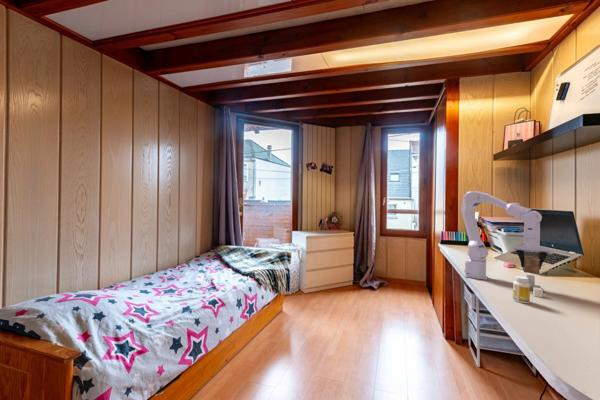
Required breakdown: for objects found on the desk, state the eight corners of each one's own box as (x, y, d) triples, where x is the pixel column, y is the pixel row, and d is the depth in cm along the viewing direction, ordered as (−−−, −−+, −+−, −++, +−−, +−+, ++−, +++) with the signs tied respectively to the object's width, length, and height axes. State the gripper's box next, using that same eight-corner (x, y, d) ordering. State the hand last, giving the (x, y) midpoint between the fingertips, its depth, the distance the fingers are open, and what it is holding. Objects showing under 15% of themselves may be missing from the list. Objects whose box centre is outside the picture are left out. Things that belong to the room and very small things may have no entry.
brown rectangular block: (524, 272, 126) (524, 257, 126) (522, 269, 131) (522, 255, 131) (539, 274, 124) (539, 259, 123) (536, 271, 128) (537, 256, 128)
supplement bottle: (509, 299, 114) (510, 276, 114) (517, 297, 116) (517, 274, 116) (525, 304, 109) (525, 280, 109) (532, 302, 111) (533, 278, 111)
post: (520, 289, 126) (520, 276, 126) (517, 284, 133) (518, 272, 133) (543, 292, 122) (544, 279, 122) (539, 287, 129) (540, 274, 129)
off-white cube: (534, 296, 118) (534, 289, 118) (533, 294, 120) (533, 287, 120) (542, 297, 117) (542, 290, 117) (541, 295, 119) (541, 288, 119)
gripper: (512, 237, 127) (511, 267, 128) (555, 240, 120) (554, 272, 120) (510, 235, 133) (509, 264, 134) (551, 238, 126) (550, 268, 126)
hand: (530, 267), depth 127 cm, fingers closed on brown rectangular block, 5 cm apart
